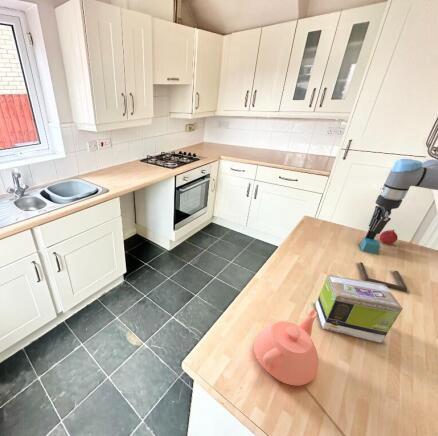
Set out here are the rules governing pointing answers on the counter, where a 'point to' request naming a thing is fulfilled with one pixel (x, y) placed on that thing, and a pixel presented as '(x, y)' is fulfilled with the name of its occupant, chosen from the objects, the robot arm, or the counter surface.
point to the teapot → (288, 351)
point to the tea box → (357, 308)
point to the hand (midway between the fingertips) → (366, 243)
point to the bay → (397, 275)
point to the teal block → (370, 245)
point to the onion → (388, 236)
